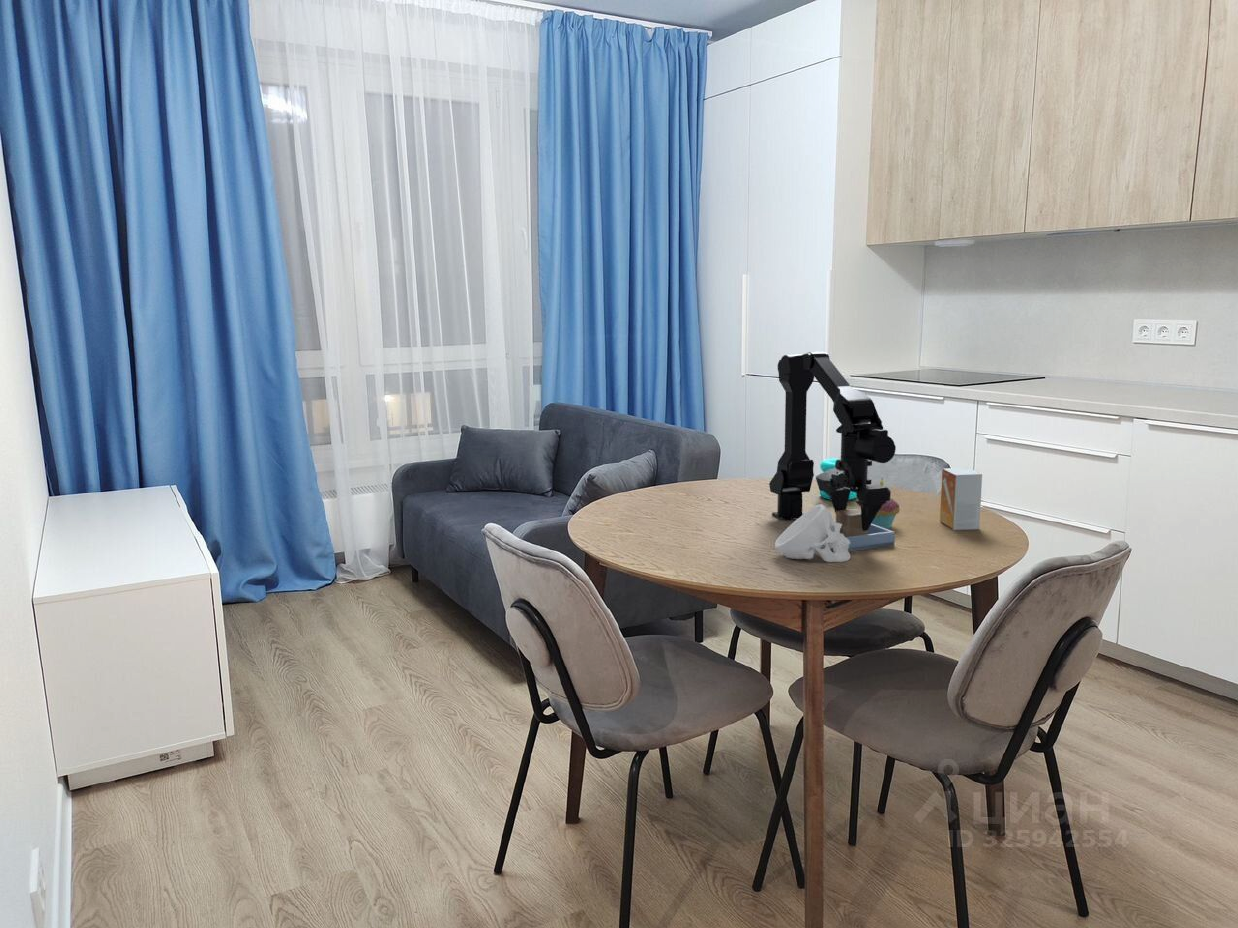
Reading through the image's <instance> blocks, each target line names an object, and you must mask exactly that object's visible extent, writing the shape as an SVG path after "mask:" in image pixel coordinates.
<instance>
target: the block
mask: <svg viewBox="0 0 1238 928" xmlns="http://www.w3.org/2000/svg"><path fill="white" fill-rule="evenodd" d="M835 522H837V523H840V524H842V526H841V528H840V533H842V534H844V536H845V537H850V536H858V535H866V534H868V530H867V531H863V530H862V521H861V509H857V508H849V509H846V510H840V511H836V514H835Z"/></svg>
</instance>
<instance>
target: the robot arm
mask: <svg viewBox="0 0 1238 928" xmlns="http://www.w3.org/2000/svg"><path fill="white" fill-rule="evenodd" d="M777 371H778V381H779V383H780V385H781V386H782V388H783V390H784V391H785V405H784V406H785V409H784V412H785V413H784V415H785V416H784V451H783V453H782V455H781V456H780V457H779V460H778V461H777V467H776V472H775V473H774V476H773V477H772V478H771V480H769V484H768V485H769V491H770V492H771V493H773V494H776V495H777V511H776V512H773V511H772V512H771V515H772V516H775V517H776V518H778V519H782V520H784V521H790V520H797V519H798V518H800V517H801V516H802V515H804V514H805V513H803V493H810V492H811V488H812V484H813V479H814V477H815V480H816V483H817V487H818V489H819V492H820V491H823V492H825V493H826V494H827V495H828V496H829V497H830V498H831V500H830V501H831V503H832V506H833V510H834V512H835V513H834V514H835V515H836V511H840V510H847V507H848V503H849V500H848V499H849V495H850V491H852V492H855V493H856V496H857V497H856V498H857V500H856V501H855V502H856V504H857V505H858V507H860V511H861V521H862V530H863V531H867V530H868V529H869V527H870V525H871V523H872V521H873V520H874V518H875V516H876V514H877V513H878V511H879V510H880V508H881V507H882V505H883V504H885V503H886V502H887V501H890V499H892V497H891V492H892V491H891V490H890V489H889V488H888V487H887V486H884V485H883V486H881V485H880V484H872V479H870V478H868V473H869V472H868V471H869V470H868V468H869V467H872V466H873V462H875V463H879V464H886V463H888V462H890V461H891V460H892V459H893V458H894V456H895V454H896V451H897V450H896V445H895V441H894V440H893V438H891V436H889V431H888V430H887V429H884V425H883V421H882V419H881V417H880V416H879V413H878V411H877V409H876V406H875V403H874V401H873V400H872V399H871V398H870V396H868V395H867V394H866V393H864V392H863V391H861V390H859V389H856V388H854V387H852V386H851V384H850V383H849V382H848V381H847V379H846V378H845V377H844V375H843V374H842V373H841V372H840V371H839V369H838V368H836V366H835V364H834V363H833V362H832V361H831V360H830V355H829V354H828V353H827V352H825V351H809V352H806V353H802V354H800V353H799V354H786V355H785V354H784V355H782V357H781V358H780V359H779V360H778V362H777ZM814 379H815V380H816V381H817V382H818V383H819V385H820V386H821V387H822V389H823V390H824V391H825V392H826V394H827V395H828V396H829V398H830V399H831V401H832V402H833V407H832V411H833V413H834V414H835V417H836V419H837V420H838V422H839V423H840V426H838V427H837V428H836V429H835V432H836V433H837V434H841V436H840V438H841V439H840V459H838V460H837V461H836V462H835V468H833V469H829V470H827V471H825V472H823V471H822V473H821V472H820V473H819V474H817V475H816V476H815V473H814V466H815V462H814V460H813V459H810V457H809V455H808V454H807V452H806V447H807V446H806V445H807V444H806V443H807V441H806V440H807V438H806V437H807V435H806V434H807V397H808V396H807V394H808V391H809V389H810V388H811V386H812V384H813V382H814Z"/></svg>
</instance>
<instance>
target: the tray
mask: <svg viewBox="0 0 1238 928" xmlns="http://www.w3.org/2000/svg"><path fill="white" fill-rule="evenodd" d="M895 534H896V532H895V531H893V530H890V529H889V528H888V529H885V528H883V527H880V526H877V525H875V524H872V523H871V525H870V527H869V529H868V534H866V535H858V536H850V537H846V538H847V539H848V540H849V541H850V544H849V548H848V552H849V553H850V552H855V551H862V550H872V549H877V548H885V547H893V546H895V539H896V537H895Z"/></svg>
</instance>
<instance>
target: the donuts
mask: <svg viewBox="0 0 1238 928" xmlns="http://www.w3.org/2000/svg"><path fill="white" fill-rule="evenodd" d="M838 459H841V457H840V458H838V457H837V458H827V459H825V460H822V461H821V463H820V464H819V465H820V466H819V467H820V470H821V471H822V473H823V472H825V471H827V470H829V469H833V468H835V462H836V461H837V460H838ZM819 495H820V496H821V497H822V498H824V499H825V500H829V501H831V498H830V497H829V496H828V495H827V494H826V493H825V492H823V491H820V490H819ZM856 498H857V496H856V493H855V492H852V491H850V495H849V499H848V501H850V500H854V499H856Z"/></svg>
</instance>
